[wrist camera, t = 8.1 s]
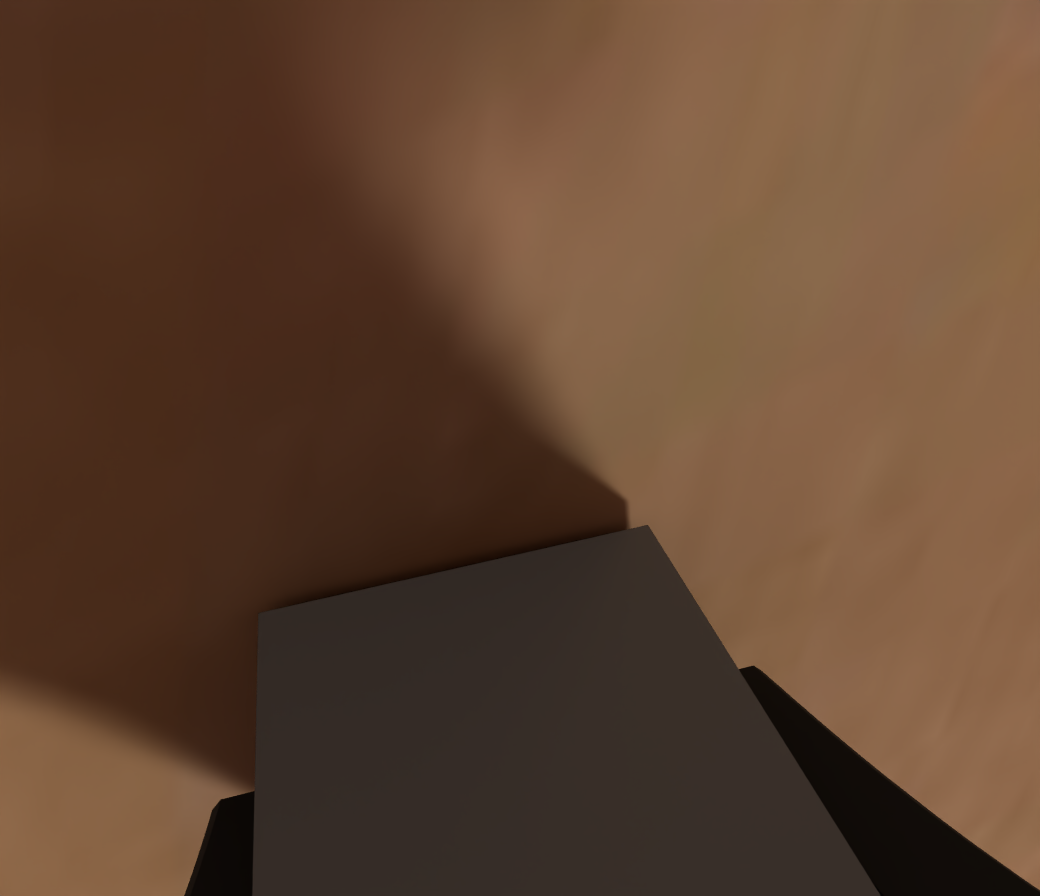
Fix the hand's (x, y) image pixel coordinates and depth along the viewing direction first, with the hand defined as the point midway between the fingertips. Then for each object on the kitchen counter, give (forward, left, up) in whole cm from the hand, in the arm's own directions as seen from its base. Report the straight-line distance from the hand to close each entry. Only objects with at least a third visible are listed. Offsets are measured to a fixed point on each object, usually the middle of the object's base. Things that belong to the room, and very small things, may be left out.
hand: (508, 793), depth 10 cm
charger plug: (+1, 0, -2) cm, 2 cm away
